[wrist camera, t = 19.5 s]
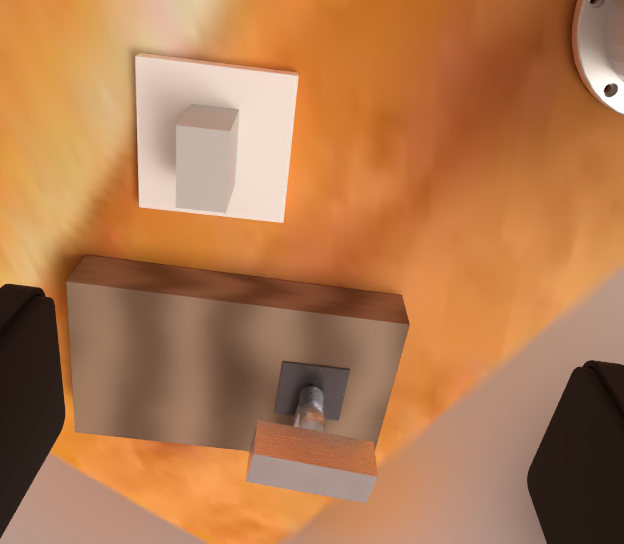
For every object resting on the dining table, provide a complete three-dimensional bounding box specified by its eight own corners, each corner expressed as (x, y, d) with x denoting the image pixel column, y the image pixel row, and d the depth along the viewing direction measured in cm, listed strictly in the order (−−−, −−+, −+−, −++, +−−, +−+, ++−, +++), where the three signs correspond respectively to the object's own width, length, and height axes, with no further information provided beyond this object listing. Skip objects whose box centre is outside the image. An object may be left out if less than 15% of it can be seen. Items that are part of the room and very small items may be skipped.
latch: (263, 372, 43) (253, 453, 36) (367, 393, 44) (377, 476, 37) (241, 451, 47) (229, 538, 40) (337, 469, 48) (342, 557, 41)
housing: (402, 295, 45) (410, 326, 41) (367, 429, 52) (371, 466, 48) (85, 254, 43) (64, 282, 40) (91, 398, 50) (74, 434, 46)
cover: (298, 71, 38) (296, 93, 32) (284, 214, 42) (279, 255, 37) (141, 51, 37) (110, 71, 31) (144, 199, 42) (118, 238, 36)
